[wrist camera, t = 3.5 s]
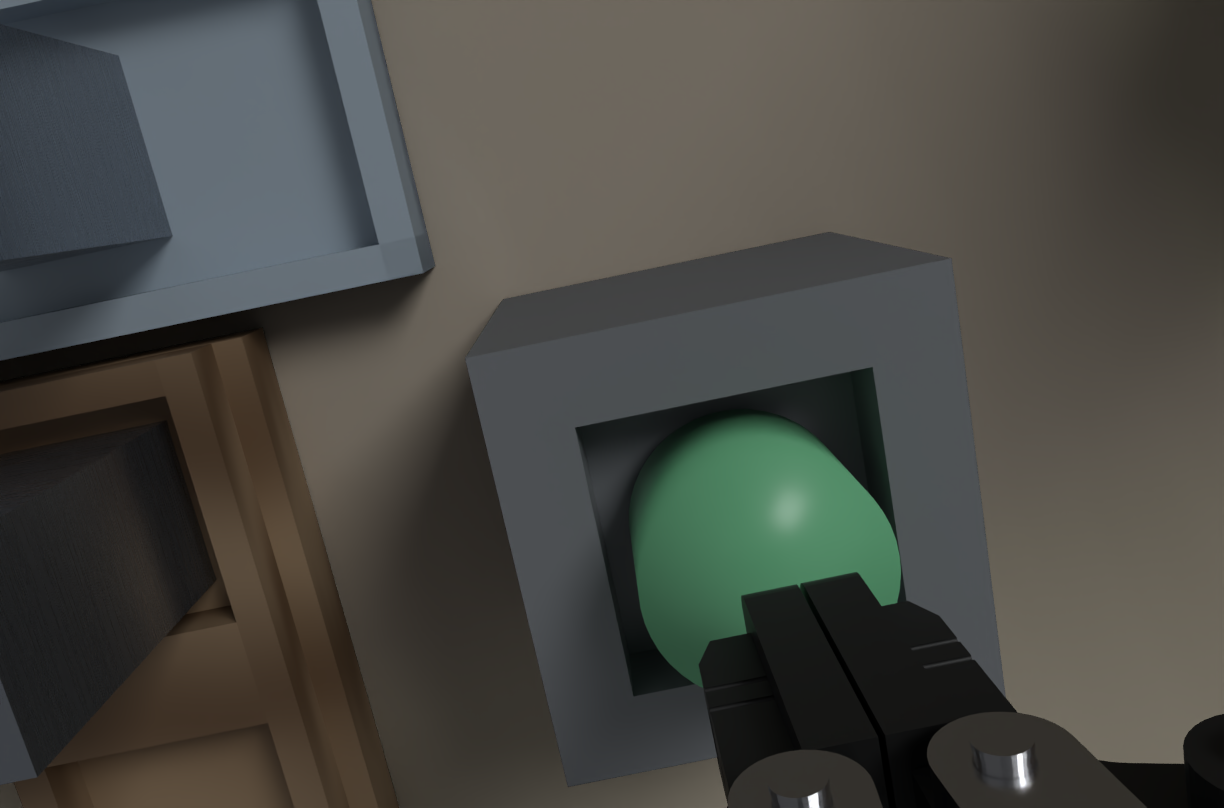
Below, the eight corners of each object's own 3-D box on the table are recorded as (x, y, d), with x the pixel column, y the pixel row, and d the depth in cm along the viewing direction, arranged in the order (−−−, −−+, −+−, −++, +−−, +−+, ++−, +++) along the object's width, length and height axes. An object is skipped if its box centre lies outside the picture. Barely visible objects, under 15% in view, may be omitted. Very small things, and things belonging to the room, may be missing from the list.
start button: (608, 433, 18) (614, 485, 15) (831, 388, 17) (882, 431, 15) (651, 637, 18) (665, 725, 16) (863, 595, 18) (916, 675, 15)
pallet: (-77, 397, 24) (-158, 424, 21) (262, 327, 24) (222, 346, 21) (115, 917, 27) (66, 997, 25) (414, 859, 27) (395, 932, 25)
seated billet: (-3, 454, 23) (-307, 598, 15) (166, 420, 23) (-50, 546, 15) (53, 612, 24) (-205, 825, 16) (216, 579, 24) (37, 777, 16)
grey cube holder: (503, 299, 24) (465, 358, 16) (830, 231, 24) (950, 258, 16) (571, 601, 26) (568, 786, 18) (876, 540, 26) (1005, 699, 18)
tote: (-315, 59, 22) (-391, 48, 20) (350, -83, 22) (330, -105, 20) (-183, 393, 24) (-243, 410, 22) (435, 265, 24) (423, 273, 22)
